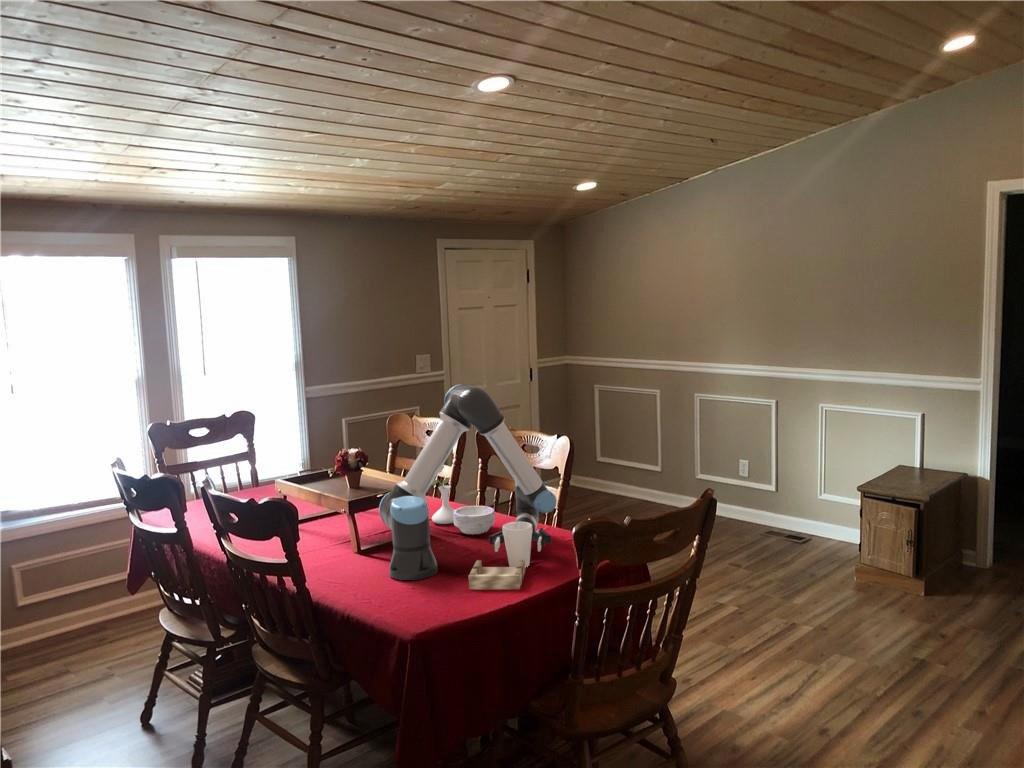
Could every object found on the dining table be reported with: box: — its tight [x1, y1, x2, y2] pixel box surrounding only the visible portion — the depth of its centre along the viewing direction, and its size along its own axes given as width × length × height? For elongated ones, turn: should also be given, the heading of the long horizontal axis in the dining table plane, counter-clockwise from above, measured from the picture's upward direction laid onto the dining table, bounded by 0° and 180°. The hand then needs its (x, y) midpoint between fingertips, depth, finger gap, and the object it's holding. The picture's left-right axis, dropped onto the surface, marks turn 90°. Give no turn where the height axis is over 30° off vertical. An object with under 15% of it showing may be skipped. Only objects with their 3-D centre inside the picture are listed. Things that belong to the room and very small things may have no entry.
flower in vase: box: [431, 463, 455, 525], centre depth 307 cm, size 13×11×25 cm
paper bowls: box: [453, 505, 496, 536], centre depth 294 cm, size 15×15×8 cm
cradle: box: [467, 559, 526, 590], centre depth 242 cm, size 16×15×4 cm
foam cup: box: [501, 521, 533, 569], centre depth 253 cm, size 10×9×13 cm
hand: (517, 547), depth 250 cm, fingers open, 13 cm apart
